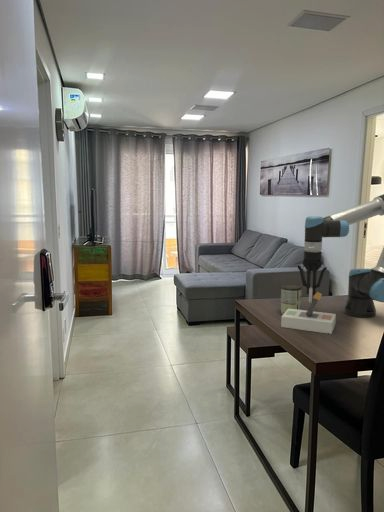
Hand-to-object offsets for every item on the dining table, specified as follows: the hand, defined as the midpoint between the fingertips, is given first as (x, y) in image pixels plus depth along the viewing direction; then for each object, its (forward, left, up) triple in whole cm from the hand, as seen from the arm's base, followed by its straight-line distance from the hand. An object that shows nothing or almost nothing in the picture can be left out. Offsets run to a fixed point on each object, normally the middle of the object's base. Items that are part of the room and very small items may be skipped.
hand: (310, 301), depth 176 cm
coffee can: (+13, -17, -12) cm, 24 cm away
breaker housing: (+1, 0, -12) cm, 12 cm away
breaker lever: (+1, 0, -6) cm, 6 cm away
